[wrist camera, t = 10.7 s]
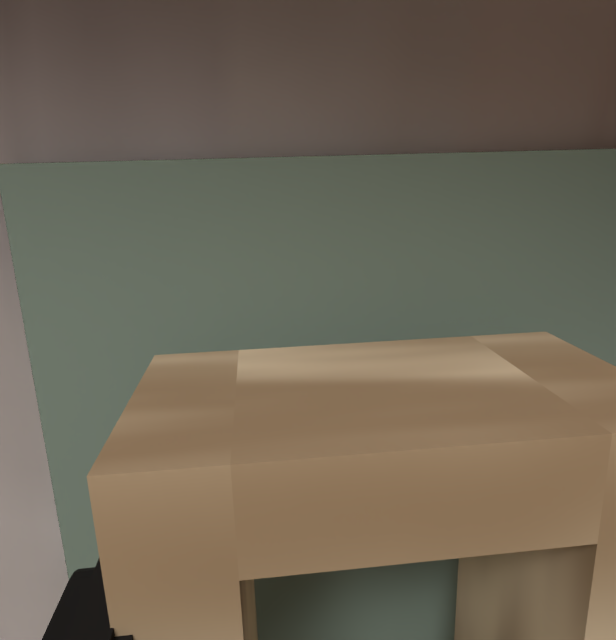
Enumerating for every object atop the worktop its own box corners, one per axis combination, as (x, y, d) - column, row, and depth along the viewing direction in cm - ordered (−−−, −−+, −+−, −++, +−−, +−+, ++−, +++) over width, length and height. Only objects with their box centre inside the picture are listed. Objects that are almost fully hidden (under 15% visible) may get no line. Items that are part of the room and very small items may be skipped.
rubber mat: (539, 847, 17) (549, 870, 17) (136, 913, 16) (132, 940, 15) (625, 149, 11) (646, 147, 11) (9, 165, 10) (-5, 164, 10)
